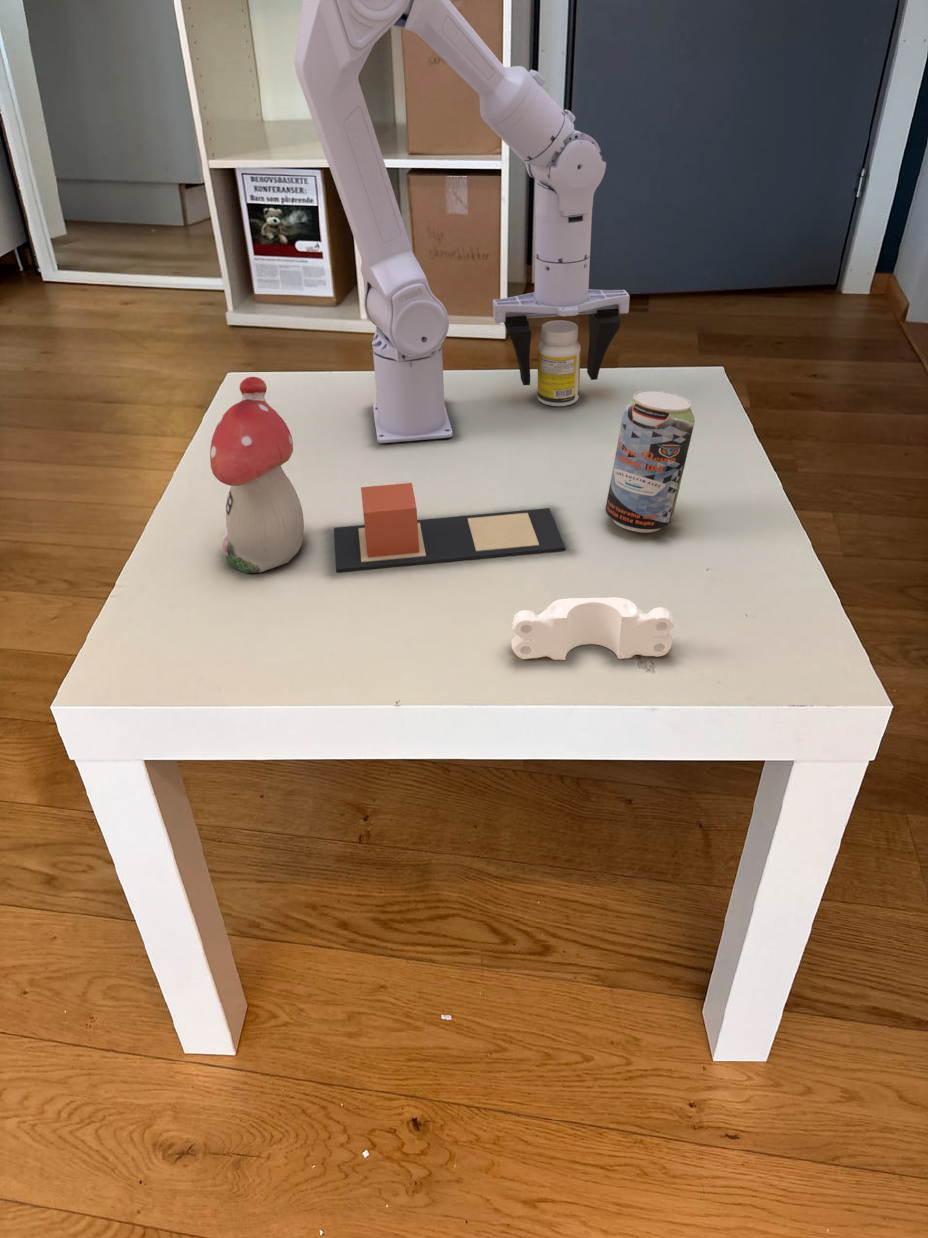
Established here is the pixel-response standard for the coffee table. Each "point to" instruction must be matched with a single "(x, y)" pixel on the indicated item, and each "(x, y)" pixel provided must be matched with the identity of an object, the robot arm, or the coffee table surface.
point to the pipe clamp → (592, 628)
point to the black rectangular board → (457, 540)
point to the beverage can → (650, 460)
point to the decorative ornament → (256, 483)
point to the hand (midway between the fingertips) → (558, 379)
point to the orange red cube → (390, 519)
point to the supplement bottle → (559, 363)
